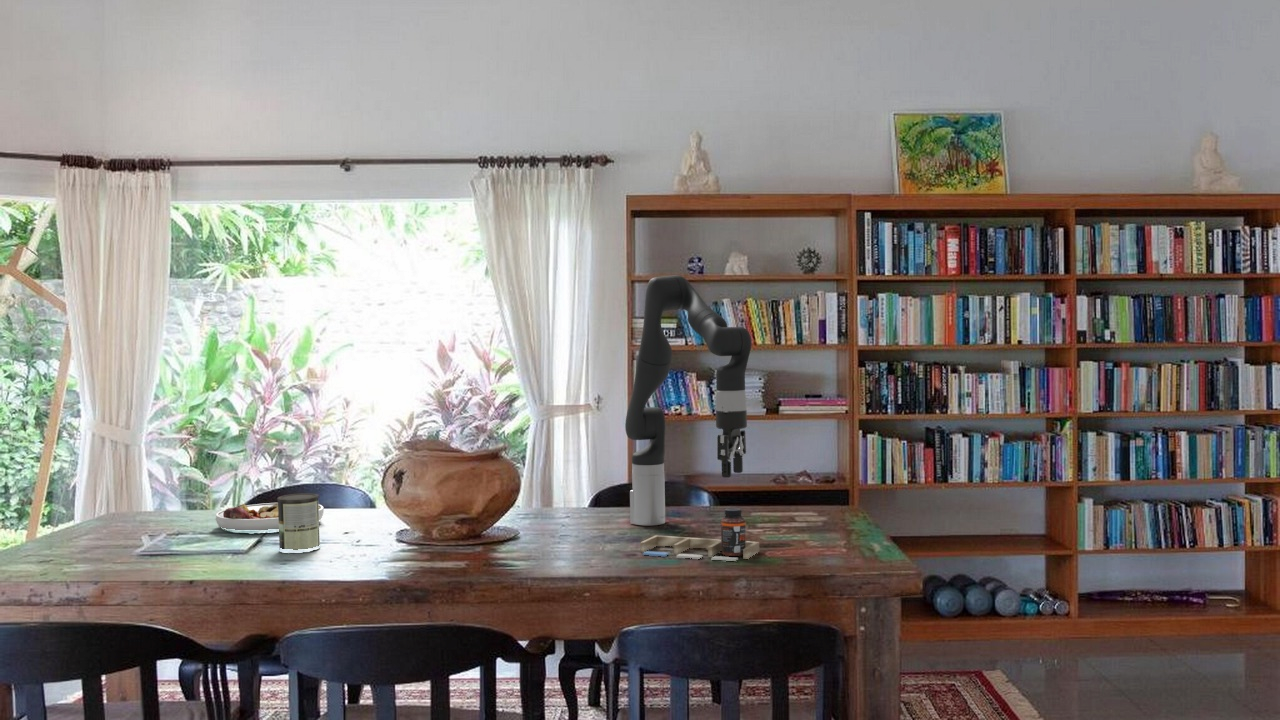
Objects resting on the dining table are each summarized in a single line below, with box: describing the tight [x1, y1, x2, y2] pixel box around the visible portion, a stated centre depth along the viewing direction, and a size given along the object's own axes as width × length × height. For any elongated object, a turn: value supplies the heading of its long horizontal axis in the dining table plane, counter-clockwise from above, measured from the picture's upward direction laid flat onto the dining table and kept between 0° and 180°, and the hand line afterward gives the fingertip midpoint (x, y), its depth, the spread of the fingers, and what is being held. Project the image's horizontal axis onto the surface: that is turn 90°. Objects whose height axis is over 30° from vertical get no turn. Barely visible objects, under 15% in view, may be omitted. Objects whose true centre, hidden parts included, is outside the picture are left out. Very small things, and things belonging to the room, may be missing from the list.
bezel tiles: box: [642, 550, 739, 562], centre depth 263 cm, size 24×2×1 cm, turn 66°
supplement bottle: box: [720, 507, 747, 557], centre depth 265 cm, size 6×6×11 cm
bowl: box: [215, 502, 325, 530], centre depth 319 cm, size 30×30×8 cm
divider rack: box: [639, 535, 760, 560], centre depth 270 cm, size 28×10×2 cm, turn 66°
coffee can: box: [277, 492, 321, 550], centre depth 283 cm, size 10×10×14 cm
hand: (732, 474), depth 265 cm, fingers open, 8 cm apart
